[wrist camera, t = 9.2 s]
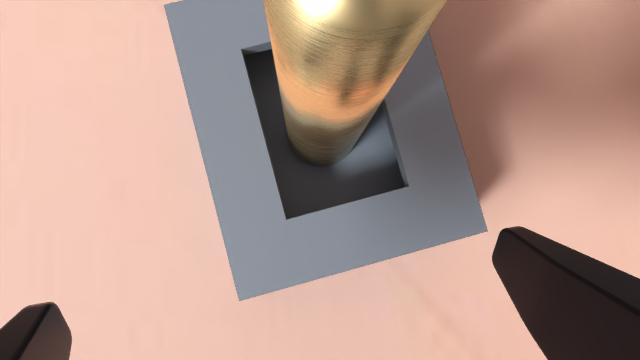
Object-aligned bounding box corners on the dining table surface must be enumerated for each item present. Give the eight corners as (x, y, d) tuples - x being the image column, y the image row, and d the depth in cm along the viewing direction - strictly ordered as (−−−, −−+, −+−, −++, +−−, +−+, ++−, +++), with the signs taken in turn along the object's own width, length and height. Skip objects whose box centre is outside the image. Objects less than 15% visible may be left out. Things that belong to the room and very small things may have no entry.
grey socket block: (453, 226, 19) (487, 231, 15) (252, 283, 18) (239, 301, 15) (386, -7, 19) (403, -53, 16) (190, 42, 19) (163, 5, 15)
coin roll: (368, 124, 18) (517, -104, 6) (330, 179, 18) (397, 70, 5) (313, 87, 19) (334, -224, 6) (274, 141, 18) (203, -61, 5)
